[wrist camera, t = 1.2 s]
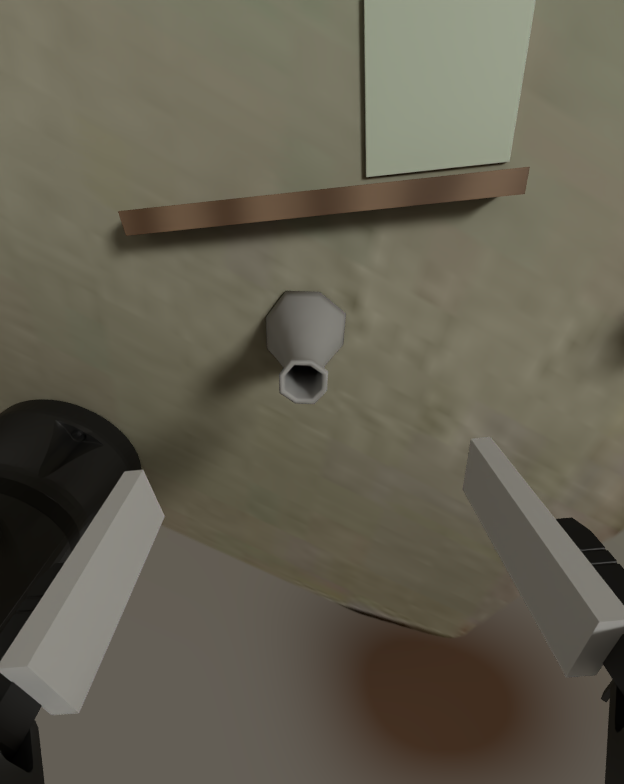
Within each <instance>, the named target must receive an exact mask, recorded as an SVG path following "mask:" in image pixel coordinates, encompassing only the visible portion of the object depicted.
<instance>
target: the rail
mask: <svg viewBox="0 0 624 784" xmlns="http://www.w3.org/2000/svg"><path fill="white" fill-rule="evenodd" d="M529 168H530V167H523V168H514V169H505V170H495V171H486V172H477V173H468V174H458V175H449V176H440V177H431V178H421V179H412V180H403V181H394V182H385V183H375V184H366V185H357V186H348V187H338V188H329V189H320V190H311V191H301V192H292V193H283V194H274V195H264V196H255V197H246V198H237V199H227V200H218V201H209V202H200V203H191V204H181V205H172V206H163V207H154V208H144V209H135V210H126V211H118V213H119V216H120V219H121V222H122V225H123V228H124V231H125V234H126V236H129V235H139V234H148V233H158V232H167V231H177V230H186V229H196V228H205V227H215V226H224V225H234V224H243V223H253V222H262V221H272V220H281V219H291V218H300V217H310V216H319V215H329V214H338V213H348V212H357V211H367V210H376V209H386V208H395V207H405V206H414V205H424V204H433V203H443V202H452V201H462V200H471V199H481V198H490V197H500V196H509V195H519V194H525V190H526V184H527V179H528V174H529Z"/></svg>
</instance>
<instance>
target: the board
mask: <svg viewBox="0 0 624 784" xmlns="http://www.w3.org/2000/svg"><path fill="white" fill-rule="evenodd" d="M535 1H536V0H364V69H365V149H366V177H373V176H382V175H392V174H401V173H410V172H419V171H428V170H437V169H447V168H456V167H465V166H474V165H483V164H492V163H502V162H509V161H510V156H511V149H512V143H513V137H514V131H515V125H516V118H517V112H518V106H519V100H520V94H521V88H522V81H523V75H524V69H525V63H526V57H527V50H528V44H529V38H530V32H531V26H532V20H533V13H534V7H535Z"/></svg>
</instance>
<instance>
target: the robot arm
mask: <svg viewBox="0 0 624 784" xmlns="http://www.w3.org/2000/svg"><path fill="white" fill-rule="evenodd" d="M463 491H464V493H465V495H466V497H467V498H468V500H469V502H470V504H471V506H472V508H473V509H474V511H475V513H476V515H477V517H478V518H479V520H480V522H481V524H482V526H483V528H484V529H485V531H486V533H487V535H488V537H489V538H490V540H491V542H492V544H493V546H494V548H495V549H496V551H497V553H498V555H499V557H500V558H501V560H502V562H503V564H504V566H505V567H506V569H507V571H508V573H509V575H510V577H511V578H512V580H513V582H514V584H515V586H516V587H517V589H518V591H519V593H520V595H521V597H522V598H523V600H524V602H525V604H526V606H527V607H528V609H529V611H530V613H531V615H532V616H533V618H534V620H535V622H536V624H537V626H538V627H539V629H540V631H541V633H542V635H543V637H544V638H545V640H546V642H547V644H548V645H549V647H550V649H551V651H552V653H553V655H554V657H555V658H556V660H557V662H558V664H559V665H560V667H561V669H562V671H563V673H564V675H565V676H566V677H579V676H593V675H596V674H597V673H598V671H599V670H600V669H601V667H602V665H604V666H605V668H606V669H607V671H608V672H609V674H610V676H611V677H612V678H613V680H612V681H611V682H610V684H609V685H608V687H607V688H606V689H605V691H604V692H603V695H602V697H601V699H602V700H603V701H605V702H607V701H608V699H609V698H610V707H609V722H608V739H607V756H606V757H607V758H606V774H605V784H624V569H623V568H622V566H621V565H620V564H617V562H616V559H614V557H613V556H612V555H611V554H610V552H609V551H608V550H605V547H604V546H603V544H602V543H601V542H600V541H599V540H598V539H597V537H596V536H595V535H594V534H593V533H592V532H591V531H590V530H589V529H587V528H586V527H585V526H583V525H582V524H580V523H579V522H578V521H576V520H575V519H573V518H561V519H555V518H554V517H553V515H552V514H551V513H550V511H549V510H548V509H547V508H546V506H545V505H544V504H543V503H542V501H541V500H540V499H539V498H538V496H537V495H536V494H535V492H534V491H533V490H532V489H531V487H530V486H529V485H528V484H527V482H526V481H525V480H524V479H523V477H522V476H521V475H520V474H519V472H518V471H517V470H516V468H515V467H514V466H513V465H512V463H511V462H510V461H509V460H508V458H507V457H506V456H505V455H504V453H503V452H502V451H501V449H500V448H499V447H498V446H497V444H496V443H495V442H494V441H493V439H492V438H491V437H484V438H474V439H471V441H470V447H469V453H468V459H467V465H466V472H465V478H464V484H463ZM164 517H165V516H164V514H163V512H162V509H161V507H160V505H159V503H158V501H157V499H156V496H155V494H154V492H153V490H152V488H151V486H150V483H149V481H148V479H147V477H146V475H145V473H144V470H141V465H140V460H139V457H138V455H137V453H136V451H135V449H134V447H133V445H132V444H131V443H130V441H129V440H128V439H127V438H126V436H125V435H124V434H123V433H122V432H121V431H120V430H119V429H118V428H116V427H115V426H114V425H113V424H111V423H110V422H109V421H107V420H106V419H104V418H103V417H101V416H99V415H97V414H96V413H94V412H92V411H89V410H87V409H85V408H82V407H80V406H77V405H74V404H70V403H66V402H61V401H55V400H30V401H25V402H21V403H18V404H15V405H13V406H11V407H9V408H8V409H6V410H5V411H3V412H2V413H0V784H44V776H43V766H42V757H41V748H40V739H39V731H38V726H37V724H36V721H35V720H34V719H35V717H36V716H37V714H38V712H39V710H40V708H41V707H43V708H44V709H45V710H46V711H47V712H49V713H50V714H51V715H60V714H73V713H79V712H80V709H81V707H82V705H83V703H84V700H85V698H86V696H87V693H88V691H89V688H90V686H91V684H92V682H93V680H94V677H95V675H96V673H97V670H98V668H99V666H100V664H101V661H102V659H103V657H104V654H105V652H106V650H107V648H108V645H109V643H110V640H111V638H112V636H113V634H114V631H115V629H116V627H117V625H118V622H119V620H120V618H121V615H122V613H123V611H124V609H125V606H126V604H127V601H128V599H129V597H130V595H131V592H132V590H133V588H134V586H135V583H136V581H137V579H138V576H139V574H140V572H141V570H142V567H143V565H144V562H145V560H146V558H147V556H148V554H149V551H150V549H151V547H152V544H153V542H154V540H155V537H156V535H157V533H158V531H159V528H160V526H161V524H162V521H163V519H164Z"/></svg>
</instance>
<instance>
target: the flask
mask: <svg viewBox="0 0 624 784" xmlns="http://www.w3.org/2000/svg"><path fill="white" fill-rule="evenodd" d="M345 318H346V313H345V312H344V311H343V310H341V309H340V308H339V307H338V306H337V305H335V304H334V303H333V302H332V301H331V300H329V299H328V298H327V297H326V296H324V295H323V294H322V293H321V292H305V291H285V292H284V294H283V295H282V296H281V298H280V299H279V300H278V302H277V303H276V304H275V306H274V307H273V308H272V310H271V311H270V312H269V314H268V315H267V316H266V336H267V349H268V350H269V351H270V352H271V353H272V354H273V355H274V356H275V357H276V359H277V360H278V361H279V363H280V364H281V365H282V366H283V370H282V371H281V372H280V373H279V391H280V394H282V395H283V396H285V397H286V398H288V399H289V400H291V401H292V402H294V403H301V404H315V403H316V402H317V401H318V400H319V399H320V397H321V396H322V395H323V394H324V393H325V392H326V391H327V380H328V371H327V370H326V369H325V368H324V367H325V365H326V364H327V362H328V361H329V360H330V359H331V358H332V357H333V356H334V354H335V353H336V352H337V351H338V350H339V349H340V348H341V347H342V345H343V342H344V330H345Z"/></svg>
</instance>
